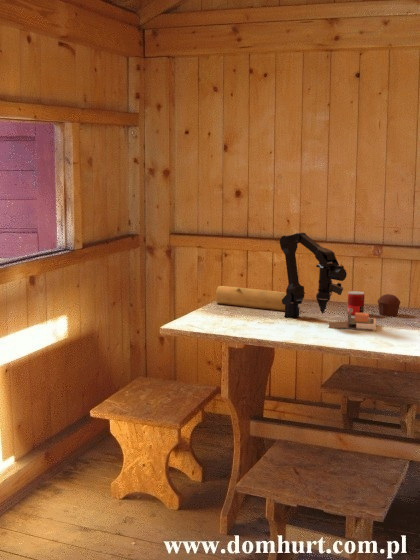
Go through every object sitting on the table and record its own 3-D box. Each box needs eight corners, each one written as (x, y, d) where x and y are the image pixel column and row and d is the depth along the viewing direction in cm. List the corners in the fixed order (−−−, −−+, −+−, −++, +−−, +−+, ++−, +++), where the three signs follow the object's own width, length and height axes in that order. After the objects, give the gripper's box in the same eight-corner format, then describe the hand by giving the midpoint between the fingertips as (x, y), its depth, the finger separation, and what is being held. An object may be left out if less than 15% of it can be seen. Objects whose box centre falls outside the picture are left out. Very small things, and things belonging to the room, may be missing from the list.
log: (291, 309, 408) (291, 290, 407) (284, 312, 400) (284, 292, 398) (222, 301, 425) (223, 283, 423) (215, 304, 417) (215, 285, 415)
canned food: (363, 316, 394) (364, 294, 392) (346, 315, 395) (347, 293, 394) (363, 313, 401) (364, 291, 400) (347, 312, 403) (348, 290, 401)
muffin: (403, 317, 394) (404, 296, 393) (382, 317, 392) (383, 297, 391) (394, 312, 406) (395, 292, 404) (373, 312, 404) (374, 292, 402)
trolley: (347, 326, 365) (347, 314, 364) (348, 322, 375) (349, 309, 374) (370, 328, 363) (370, 315, 362) (370, 323, 373) (371, 311, 372)
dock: (328, 330, 365) (328, 321, 364) (330, 324, 379) (330, 315, 378) (375, 333, 361) (375, 324, 360) (375, 327, 374) (375, 318, 374)
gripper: (342, 282, 359) (340, 316, 362) (343, 275, 377) (342, 308, 380) (317, 280, 361) (315, 314, 364) (320, 274, 379) (318, 306, 382)
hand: (323, 311), depth 372 cm, fingers open, 9 cm apart
